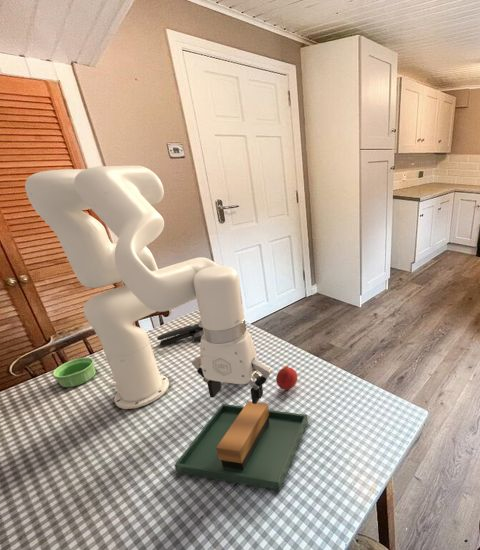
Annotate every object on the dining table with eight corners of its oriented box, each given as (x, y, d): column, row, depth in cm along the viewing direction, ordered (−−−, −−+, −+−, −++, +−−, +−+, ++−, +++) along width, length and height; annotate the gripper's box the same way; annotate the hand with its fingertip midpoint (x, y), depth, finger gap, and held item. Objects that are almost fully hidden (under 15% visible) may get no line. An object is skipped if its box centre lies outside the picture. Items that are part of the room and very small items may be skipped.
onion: (293, 397, 85) (290, 374, 82) (274, 394, 86) (270, 371, 83) (301, 383, 90) (299, 361, 87) (283, 380, 91) (280, 358, 88)
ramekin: (49, 387, 88) (43, 375, 86) (81, 367, 96) (76, 355, 94) (75, 391, 86) (70, 378, 85) (105, 370, 95) (101, 358, 93)
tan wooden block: (243, 471, 64) (239, 451, 62) (220, 468, 65) (215, 447, 62) (270, 421, 76) (267, 403, 74) (251, 419, 77) (248, 400, 74)
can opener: (214, 329, 117) (211, 316, 115) (214, 338, 111) (211, 325, 109) (161, 339, 111) (157, 326, 108) (157, 350, 105) (153, 336, 103)
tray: (176, 473, 64) (174, 465, 63) (223, 410, 80) (222, 403, 79) (279, 490, 61) (278, 482, 60) (307, 421, 77) (307, 414, 76)
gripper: (171, 334, 57) (188, 403, 63) (257, 344, 55) (266, 415, 61) (197, 314, 64) (211, 379, 70) (275, 323, 62) (281, 389, 68)
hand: (236, 395), depth 66 cm, fingers open, 9 cm apart
